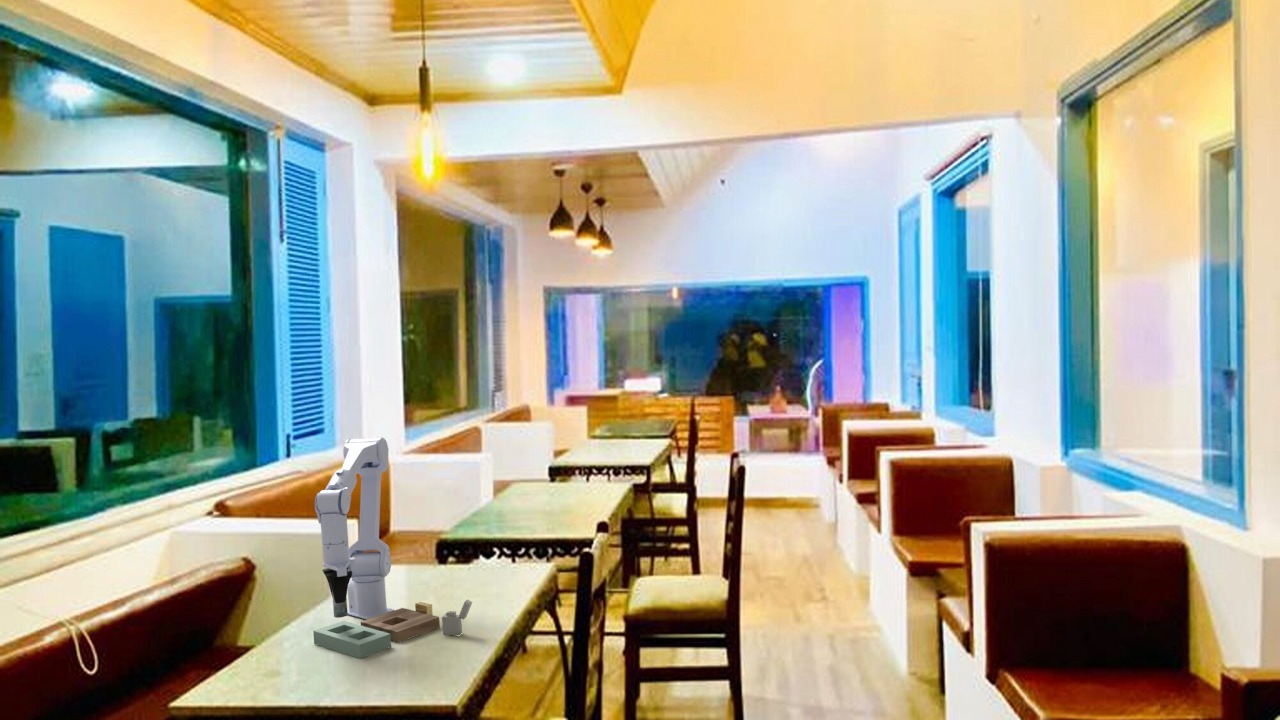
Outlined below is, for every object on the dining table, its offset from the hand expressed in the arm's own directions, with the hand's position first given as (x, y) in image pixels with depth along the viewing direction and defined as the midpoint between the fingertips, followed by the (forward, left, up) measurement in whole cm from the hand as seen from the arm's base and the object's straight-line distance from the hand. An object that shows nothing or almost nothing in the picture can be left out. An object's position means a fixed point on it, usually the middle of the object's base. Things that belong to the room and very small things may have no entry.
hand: (339, 600), depth 210 cm
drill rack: (+4, 0, -10) cm, 10 cm away
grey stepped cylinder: (0, 0, -3) cm, 4 cm away
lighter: (+20, +18, -10) cm, 28 cm away
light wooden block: (+5, +18, -9) cm, 21 cm away
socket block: (+5, +13, -10) cm, 17 cm away
